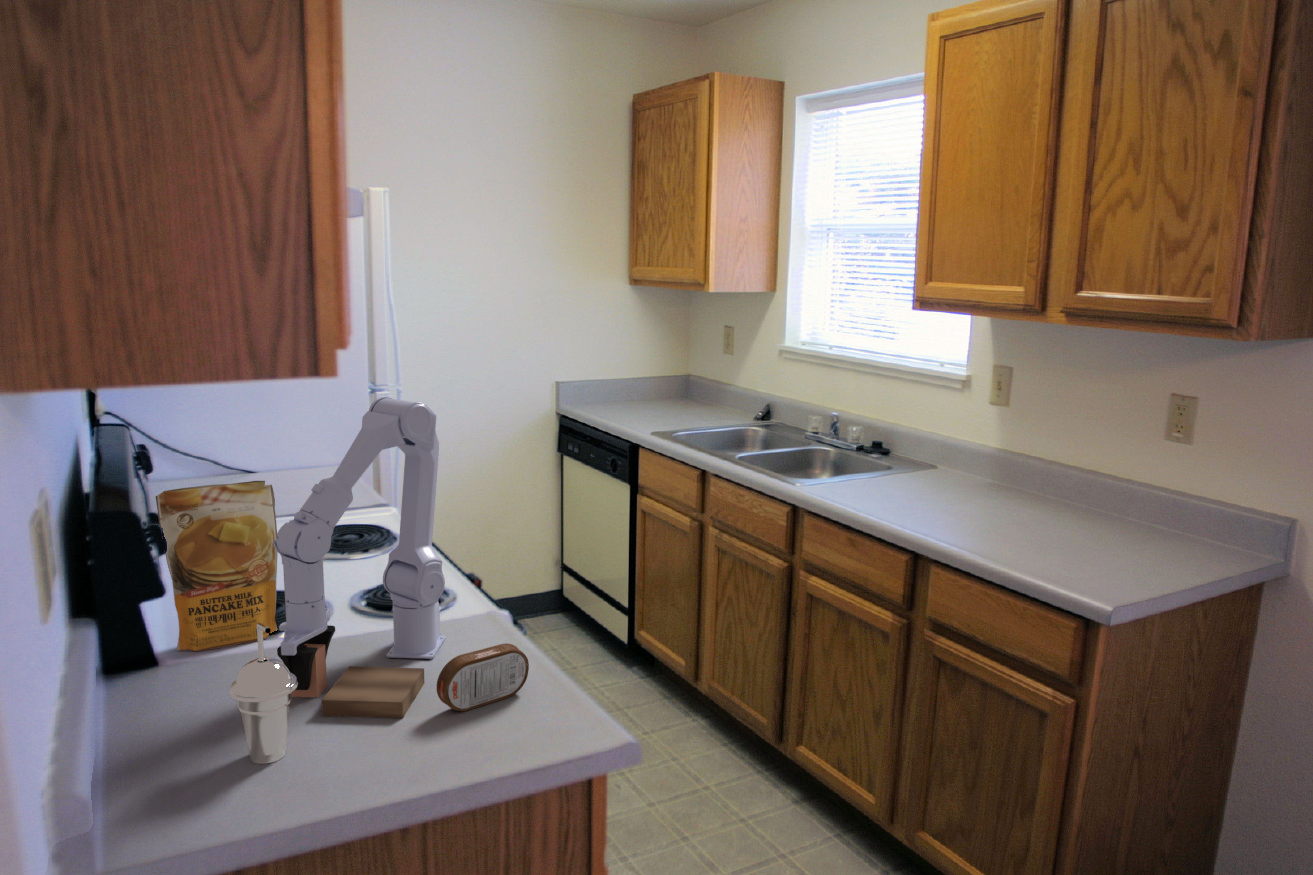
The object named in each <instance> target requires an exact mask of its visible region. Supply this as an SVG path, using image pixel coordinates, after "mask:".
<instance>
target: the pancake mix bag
mask: <svg viewBox="0 0 1313 875" xmlns="http://www.w3.org/2000/svg"><path fill="white" fill-rule="evenodd" d="M155 502H156V508H157V509H156V510H157V516H158V524H159V527H160V528H161V527H162V528H163V533H164V537H165V539H166V541H167V552H166V553H165V552H164V554H165V560H166V565H167V568H168V571H169V575H170V578H171V583H172V591H173V600H174V606H175V610H176V614H177V619H178V638H177V639H178V640H177V646H176V651H190V652H193V653H194V652H202V651H209V650H214V649H221V648H226V647H231V646H237V645H241V644H248V643H253V642H258V639H257V624H258V623H259V622H261V623H263V624H264V625H266V626H267V627H269V628H270V629H271V631H270V633H272V632H274V631H277V630H278V631H279V628H278V626H277V623H276V622H277V621H276V619H275V618H276V607H277V577H278V575H277V573H278V552H277V551H276V549H275V547H274V544H273V541H274V540H276V538H277V533H278V529H277V525H278V524H277V515H276V499H275V492H274V488H273V484H266V480H252V481H251V480H250V481H244V482H242V481H241V482H236V483H234V482H233V483H221V484H209V485H208V484H207V485H199V486H189V487H183V488H182V487H180V488H176V489H175V488H174V489H169V490H164V491H162V492H161V493H159V494H157V495H155ZM268 635H269V633H266V632H264V631H263V640H267V639H268V638H269V637H268ZM269 636H270V635H269Z"/></svg>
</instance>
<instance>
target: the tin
mask: <svg viewBox="0 0 1313 875" xmlns="http://www.w3.org/2000/svg"><path fill="white" fill-rule="evenodd" d="M529 664H530V663H529V659H528V657H527V655H526V654H525V652H523V651H522V650H520V648H519V647H517V646H516V645H514V644H513V643H509V642H508V643H507V642H506V643H505V642H504V643H500V644H496V645H493V646H492V645H491V646H489V647H488V646H487V647H486V648H485V647H484V648H482V649H479V650H474V651H470V652H466V653H463V654H459V655H457V656H454V657H453V658H452V659H450V660H449V661H448V662H447V663H446V664H445V665H444V666H443V668H442V669H441V671H440V673H439V675H438V678H437V680H436V688H435V689H436V693H437V697H438V699H439V700H440V701H441V703H443V704H444V705H447V707H449V708H451V710H453V711H457V712H466V711H470V710H473V709H476V708H477V709H478V708H479V707H483V706H486V705H490V704H492V703H495V702H498V701H502V700H506V699H508V698H511V697H513V696H514V695H516V694H518V692H519V691H521V689H522V688H523V686H524V685H525V683H526V682H527V679H528V675H529V671H530V670H529V668H530V666H529Z"/></svg>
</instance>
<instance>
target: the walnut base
mask: <svg viewBox="0 0 1313 875" xmlns="http://www.w3.org/2000/svg"><path fill="white" fill-rule="evenodd" d="M424 685H425V668H423V667H422V668H419V667H418V668H417V667H387V666H385V667H384V666H354V665H353V666H351V665H349V666H348V667H347V669H346V670H345V671H344V672H343V673H342V674H341V675H340V677H339V679H337V681H336V682H335V683H334V684H333V685H332V687H331V688H330V689H329V691H328V692H326V694H325V695H324V696H323V698H322V699H321V713H322V714H321V715H322V717H346V718H347V717H348V718H350V717H352V718H354V717H355V718H380V719H381V718H384V719H385V718H387V719H388V718H389V719H404V717H405V715H406V714H407V713H408V711H409V709H410V708H411V706H412V704H413V702H414V701H415V699H416V698H417V696H418V695H419V693H420V691H421V690H422V688H423V687H424Z"/></svg>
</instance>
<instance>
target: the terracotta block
mask: <svg viewBox="0 0 1313 875" xmlns="http://www.w3.org/2000/svg"><path fill="white" fill-rule="evenodd" d="M305 645H307V647H317V648H318V649H317V651H316V653H315V656H314V659H313V663H312V670H311V682H310V687H309V689H308V690H294V691H293V692H292V697H293V698H294V697H295V698H319V696H321V695H322V693H323V692H324V690H326V688H327V687H328V680H327V679H328V678H327V656H326V653H325V644H305ZM292 697H291V698H292Z"/></svg>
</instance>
